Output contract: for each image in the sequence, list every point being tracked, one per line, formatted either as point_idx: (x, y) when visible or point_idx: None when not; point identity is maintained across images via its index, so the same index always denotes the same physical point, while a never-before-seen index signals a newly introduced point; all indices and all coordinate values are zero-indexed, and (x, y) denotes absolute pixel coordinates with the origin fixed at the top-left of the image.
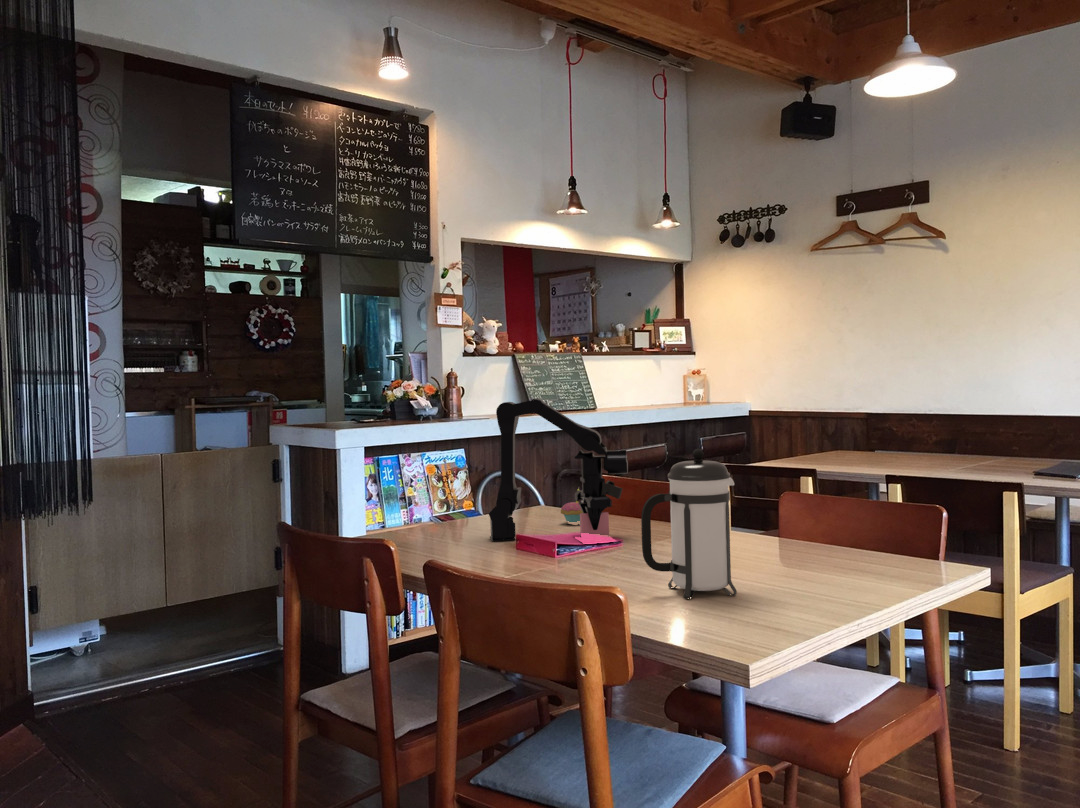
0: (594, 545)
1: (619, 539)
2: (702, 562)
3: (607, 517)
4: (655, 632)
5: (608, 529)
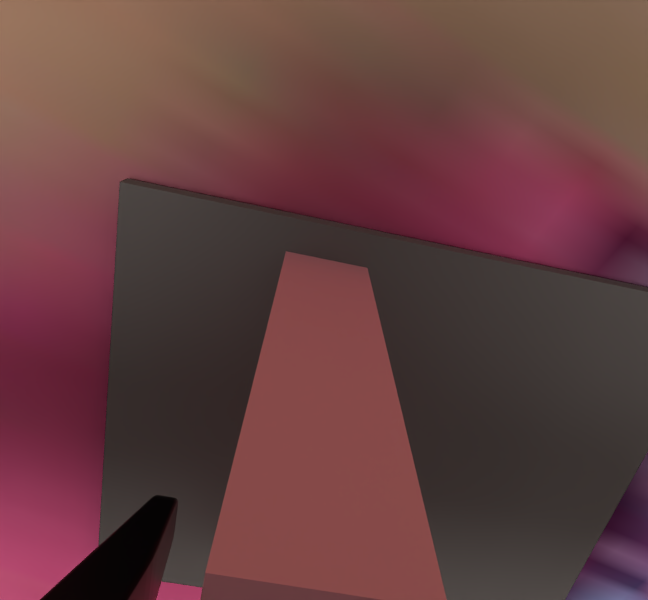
0: (615, 560)
1: (512, 167)
2: None
3: (404, 495)
4: None
5: (376, 322)
